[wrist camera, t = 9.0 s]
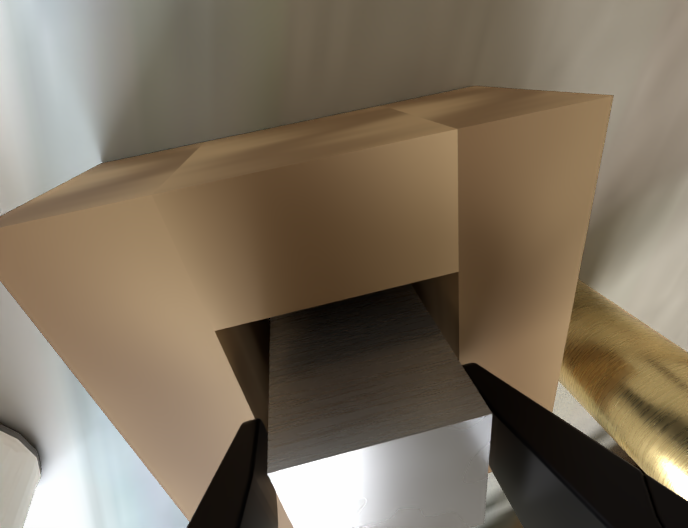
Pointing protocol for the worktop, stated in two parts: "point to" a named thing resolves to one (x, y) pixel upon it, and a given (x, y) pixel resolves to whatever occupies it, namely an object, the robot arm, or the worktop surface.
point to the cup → (16, 477)
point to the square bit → (374, 418)
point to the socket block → (308, 255)
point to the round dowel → (630, 385)
